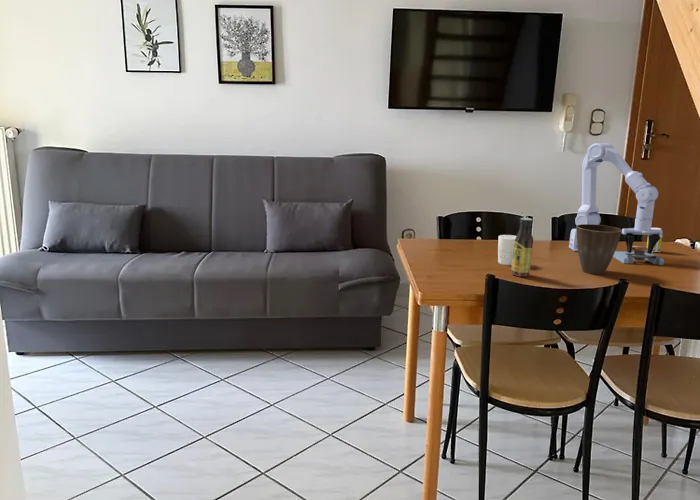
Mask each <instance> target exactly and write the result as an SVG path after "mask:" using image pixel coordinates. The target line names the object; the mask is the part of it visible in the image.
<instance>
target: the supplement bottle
mask: <svg viewBox="0 0 700 500" xmlns="http://www.w3.org/2000/svg"><path fill="white" fill-rule="evenodd" d="M651 229H655V230H662V228H660V227H651ZM662 243H663V235H662V236H660V239H659V241H658V242H657V243H656V245H655V246H654V248H653V251H652V253H653V252H659V253H661V250H662ZM646 247H647V249H648V238H647V242H646Z"/></svg>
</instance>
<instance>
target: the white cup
mask: <svg viewBox="0 0 700 500" xmlns="http://www.w3.org/2000/svg"><path fill="white" fill-rule="evenodd" d="M516 236H517V235H512V234H500V235H498V242H497V243H498V244H497V256H498V257H497V262H498V263H497V264H500V265H504V266H512V259H513V249H514V241H515V239H516Z"/></svg>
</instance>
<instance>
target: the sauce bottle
mask: <svg viewBox="0 0 700 500" xmlns="http://www.w3.org/2000/svg"><path fill="white" fill-rule="evenodd" d="M519 224H520V225H519V229H518V232H517V235H515V236H516V239H515V241H514V249H513V259H512V265H511V274H512V276H515V277H522V278H523V277H529V276H530V273H531V265H532V257H533V256H532V255H533V249H534V246H533V244H534V236H533V235H532V225H533V218H530V217H520V219H519Z"/></svg>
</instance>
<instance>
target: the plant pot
mask: <svg viewBox="0 0 700 500" xmlns="http://www.w3.org/2000/svg"><path fill="white" fill-rule="evenodd" d="M575 229H576V234H577V247H578V251H577V254H578V257H579V258H578V259H579V263H580V267H581V270H582V272H585V273H587V274H591V275H603V274H605V273H606V271H607V269H608V267H609V266H610V263H611V261H612V259H613V258H614V257H613V255H614V253H615V251H617V248H618V244H619V242H620V241H619V240H620V239H621V234H622V229H621V228H619V227H615V226H609V225H603V224H599V225H594V224H581V225H576V227H575Z"/></svg>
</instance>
